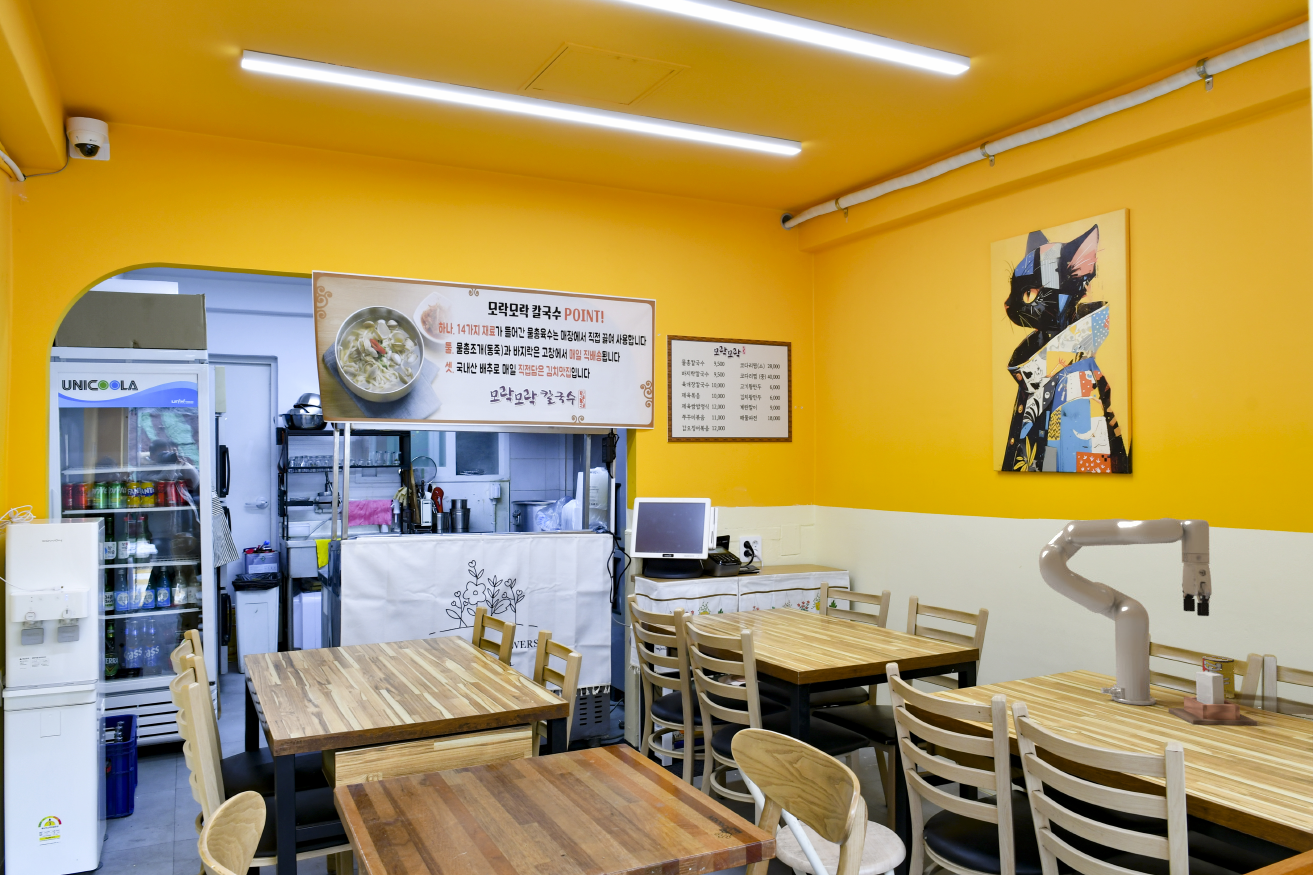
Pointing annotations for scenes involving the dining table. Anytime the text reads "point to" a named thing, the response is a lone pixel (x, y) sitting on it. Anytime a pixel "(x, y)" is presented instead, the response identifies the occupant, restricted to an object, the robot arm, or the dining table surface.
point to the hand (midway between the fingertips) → (1196, 613)
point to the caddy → (1211, 713)
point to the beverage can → (1226, 669)
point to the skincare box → (1209, 688)
